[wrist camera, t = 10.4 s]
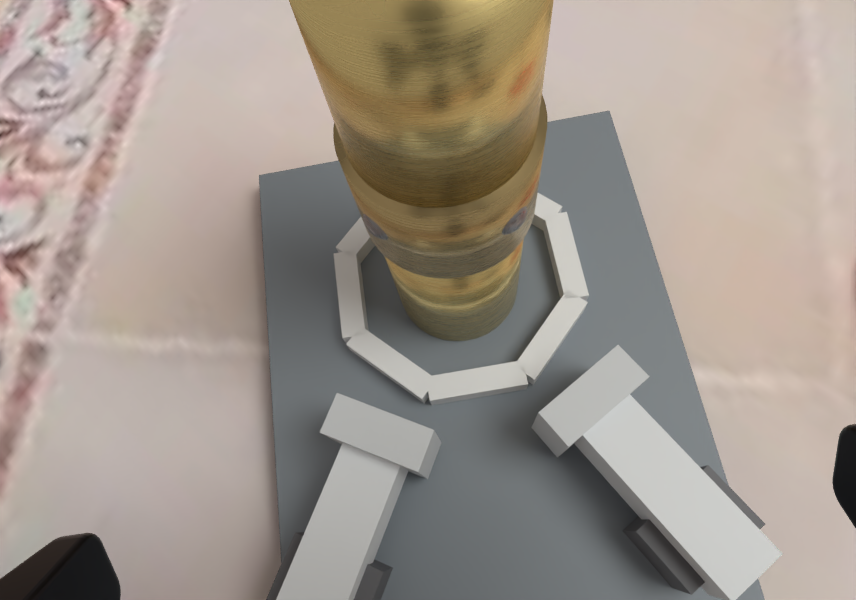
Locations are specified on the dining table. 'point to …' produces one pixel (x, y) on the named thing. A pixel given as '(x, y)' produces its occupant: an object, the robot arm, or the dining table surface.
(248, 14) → the dining table surface
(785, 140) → the dining table surface
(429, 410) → the base
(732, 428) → the dining table surface
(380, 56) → the coupler
